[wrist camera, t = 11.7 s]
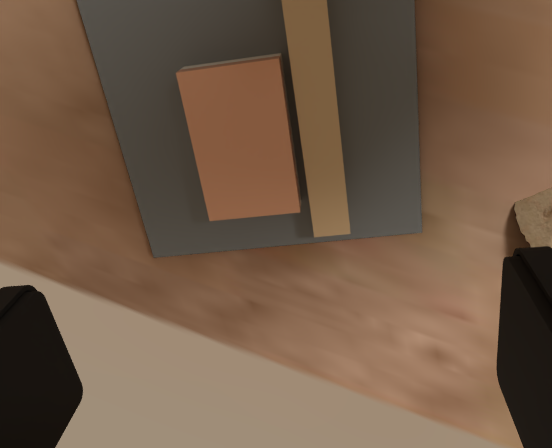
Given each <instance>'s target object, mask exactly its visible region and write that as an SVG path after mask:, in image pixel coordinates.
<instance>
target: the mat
mask: <svg viewBox="0 0 552 448" xmlns="http://www.w3.org/2000/svg"><path fill="white" fill-rule="evenodd" d="M77 4H78V7H79V10H80V14H81V17H82V20H83V24H84V27H85V30H86V34H87V37H88V40H89V44H90V47H91V50H92V53H93V57H94V60H95V63H96V67H97V70H98V73H99V77H100V80H101V83H102V87H103V90H104V93H105V97H106V100H107V103H108V107H109V110H110V113H111V117H112V120H113V123H114V127H115V130H116V133H117V137H118V140H119V143H120V147H121V150H122V153H123V157H124V160H125V163H126V167H127V170H128V173H129V177H130V180H131V183H132V187H133V190H134V193H135V197H136V200H137V203H138V207H139V210H140V213H141V217H142V220H143V223H144V227H145V230H146V233H147V237H148V240H149V243H150V247H151V250H152V253H153V256H154V258H157V257H168V256H179V255H189V254H200V253H210V252H221V251H232V250H242V249H253V248H264V247H274V246H285V245H295V244H306V243H317V242H327V241H338V240H349V239H359V238H370V237H381V236H391V235H402V234H412V233H422V213H421V182H420V152H419V121H418V91H417V60H416V30H415V0H77ZM277 53H281V54H282V62H283V69H284V76H285V84H286V91H287V98H288V106H289V113H290V120H291V127H292V135H293V142H294V149H295V157H296V164H297V171H298V178H299V186H300V193H301V210H300V213H289V214H279V215H268V216H258V217H248V218H237V219H227V220H216V221H209V216H208V212H207V208H206V203H205V199H204V194H203V190H202V186H201V181H200V177H199V172H198V168H197V164H196V159H195V155H194V151H193V146H192V142H191V137H190V133H189V129H188V124H187V120H186V116H185V111H184V107H183V102H182V98H181V94H180V89H179V85H178V80H177V76H176V72H177V71H179V70H180V69H181V68H183V67H185V66H192V65H199V64H206V63H214V62H221V61H228V60H235V59H242V58H249V57H256V56H263V55H270V54H277Z"/></svg>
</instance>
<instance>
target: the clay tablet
mask: <svg viewBox="0 0 552 448" xmlns="http://www.w3.org/2000/svg"><path fill="white" fill-rule="evenodd" d="M514 210H515V213H516V215H517V216H516V219H517V222H518V224H519V227H520V231H521V233H522V234H524V235H525V238H526V241H527V242H529V243H530V246H531V247H543V246H550V247H551V248H552V188H550V189H547V190H545V191H542V192H540V193H538V194H536V195H533V196H531V197H528V198H525V199H523V200H520V201H517V202H515V208H514Z"/></svg>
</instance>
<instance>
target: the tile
mask: <svg viewBox="0 0 552 448" xmlns="http://www.w3.org/2000/svg"><path fill="white" fill-rule="evenodd" d="M176 76H177V80H178V85H179V89H180V94H181V98H182V102H183V107H184V111H185V116H186V120H187V124H188V129H189V133H190V137H191V142H192V146H193V151H194V155H195V159H196V164H197V168H198V172H199V177H200V181H201V186H202V190H203V194H204V199H205V203H206V208H207V212H208V216H209V221H216V220H227V219H237V218H248V217H258V216H268V215H279V214H289V213H300V210H301V193H300V186H299V178H298V171H297V164H296V157H295V149H294V142H293V135H292V127H291V120H290V113H289V106H288V98H287V91H286V84H285V76H284V69H283V62H282V54H281V53H277V54H270V55H263V56H256V57H249V58H242V59H235V60H228V61H221V62H214V63H206V64H199V65H192V66H185V67H183V68H181V69H180V70H179V71H177V72H176Z"/></svg>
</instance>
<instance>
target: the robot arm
mask: <svg viewBox="0 0 552 448" xmlns="http://www.w3.org/2000/svg"><path fill="white" fill-rule="evenodd" d="M497 376H498V381H499V385H500V388H501V390H502V393H503V396H504V398H505V401H506V403H507V406H508V408H509V411H510V414H511V416H512V419H513V421H514V424H515V426H516V429H517V432H518V434H519V437H520V439H521V442H522V444H523V447H524V448H552V248H551V247H550V246H543V247H529V248H517V249H515V251H514V253H513V257H505V258H504V261H503V270H502V286H501V303H500V319H499V336H498V352H497ZM82 395H83V387H82V383H81V381H80V379H79V376H78V374H77V371H76V369H75V367H74V364H73V362H72V360H71V357H70V355H69V353H68V350H67V348H66V345H65V343H64V341H63V338H62V336H61V334H60V331H59V329H58V327H57V324H56V322H55V320H54V317H53V315H52V312H51V310H50V308H49V305H48V303H47V301H46V298H45V297H44V295H43V294H42V293H41V292H39V291H37V290H36V289H35V288H34V287H33V286H30V285H24V286H11V287H3V288H1V289H0V448H55V447H56V445H57V443H58V441H59V440H60V438H61V436H62V434H63V432H64V431H65V429H66V427H67V425H68V423H69V422H70V420H71V418H72V416H73V414H74V413H75V411H76V409H77V407H78V405H79V404H80V402H81V399H82Z"/></svg>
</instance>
